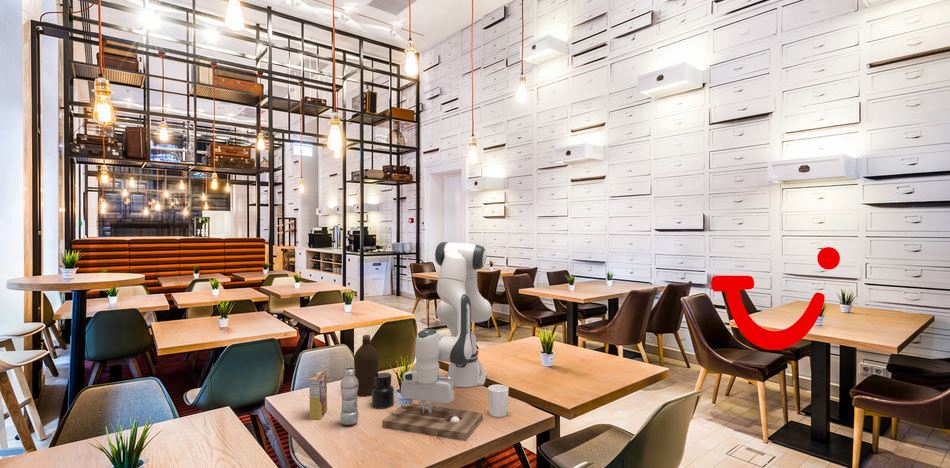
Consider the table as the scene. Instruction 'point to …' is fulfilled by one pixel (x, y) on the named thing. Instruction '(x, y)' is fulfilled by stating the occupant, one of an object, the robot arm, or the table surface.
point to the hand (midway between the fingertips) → (427, 412)
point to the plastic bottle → (349, 397)
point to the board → (433, 421)
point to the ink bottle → (382, 391)
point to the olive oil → (366, 366)
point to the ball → (455, 419)
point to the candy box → (318, 395)
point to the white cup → (498, 400)
